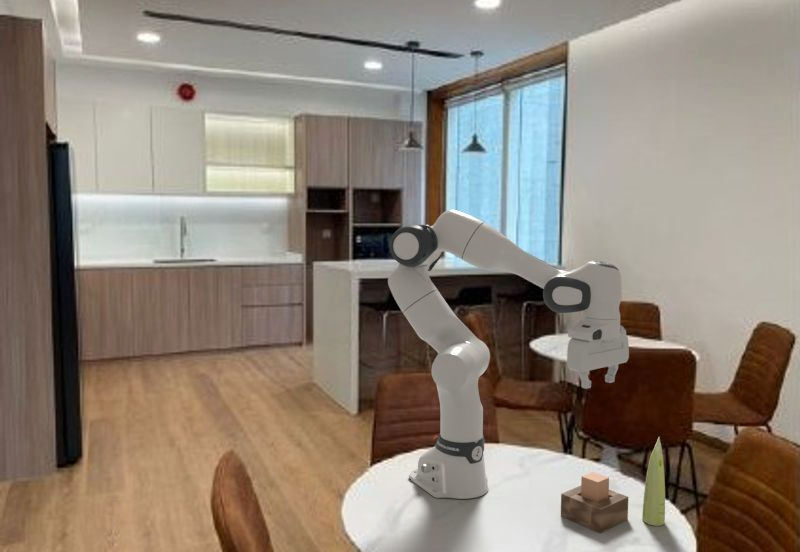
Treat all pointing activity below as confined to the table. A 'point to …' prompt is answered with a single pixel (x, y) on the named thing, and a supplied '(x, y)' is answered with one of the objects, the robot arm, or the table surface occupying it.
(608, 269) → the robot arm
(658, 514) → the tube
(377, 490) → the table surface
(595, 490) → the peg
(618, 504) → the socket block
